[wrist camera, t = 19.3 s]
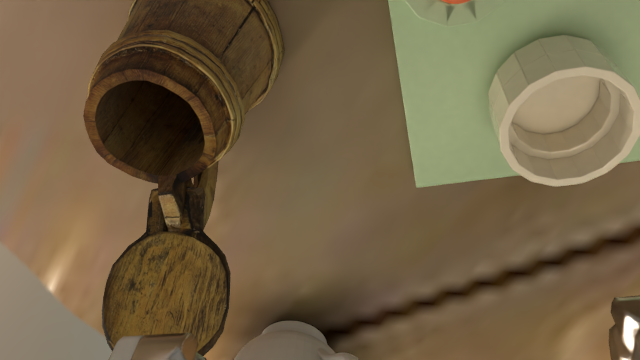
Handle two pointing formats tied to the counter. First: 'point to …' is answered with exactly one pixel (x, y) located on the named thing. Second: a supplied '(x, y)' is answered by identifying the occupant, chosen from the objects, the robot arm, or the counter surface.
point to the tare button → (456, 1)
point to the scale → (487, 71)
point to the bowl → (563, 111)
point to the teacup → (290, 344)
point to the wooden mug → (177, 151)
